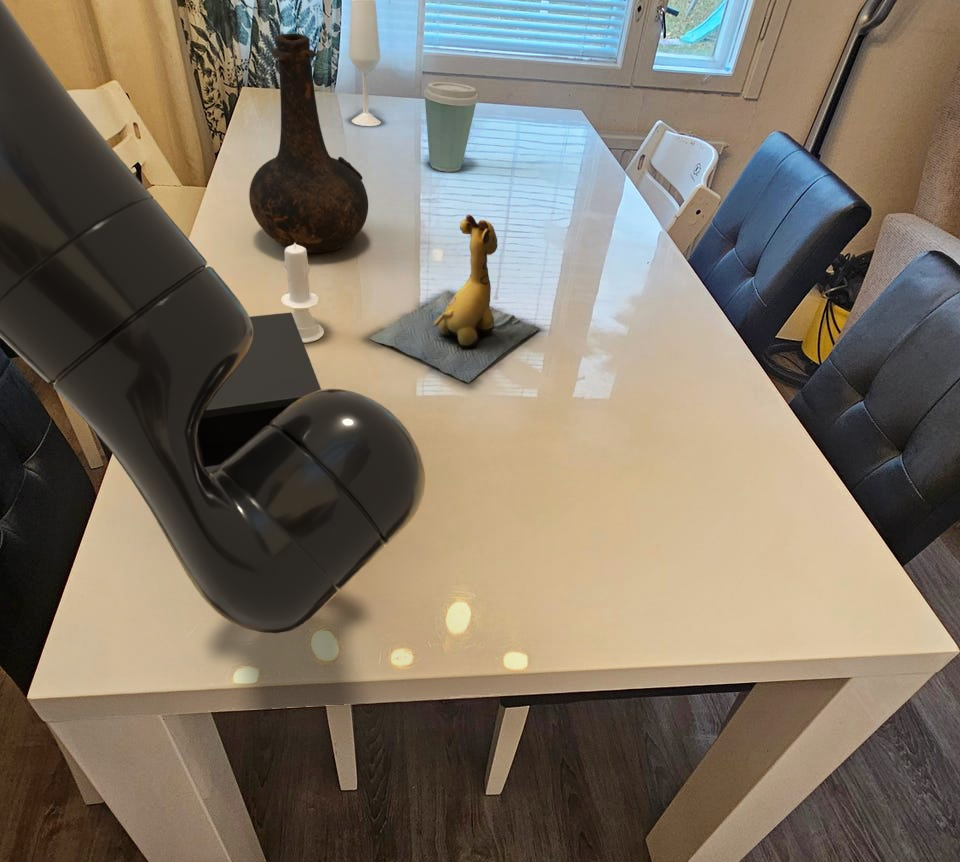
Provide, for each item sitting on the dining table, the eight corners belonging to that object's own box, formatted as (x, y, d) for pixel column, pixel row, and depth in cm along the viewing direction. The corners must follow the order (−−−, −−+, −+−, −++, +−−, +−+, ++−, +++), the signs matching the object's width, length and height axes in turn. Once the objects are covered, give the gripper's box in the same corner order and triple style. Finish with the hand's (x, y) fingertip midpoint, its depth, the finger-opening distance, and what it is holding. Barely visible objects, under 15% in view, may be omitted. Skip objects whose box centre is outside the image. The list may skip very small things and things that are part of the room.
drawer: (356, 569, 63) (352, 496, 57) (209, 602, 59) (188, 527, 53) (310, 435, 77) (303, 364, 70) (187, 454, 73) (168, 381, 67)
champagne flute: (349, 124, 160) (344, -6, 143) (354, 116, 164) (349, -11, 148) (378, 127, 160) (377, -3, 143) (382, 119, 165) (381, -8, 148)
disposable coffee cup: (418, 157, 147) (420, 75, 137) (469, 159, 149) (474, 78, 139) (424, 175, 140) (427, 89, 130) (477, 177, 142) (484, 93, 132)
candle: (283, 322, 95) (272, 234, 87) (323, 322, 96) (317, 235, 88) (282, 343, 91) (270, 253, 83) (324, 343, 92) (317, 253, 84)
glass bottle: (385, 257, 112) (384, 50, 93) (274, 272, 105) (247, 53, 86) (345, 214, 123) (336, 21, 103) (242, 226, 116) (212, 21, 96)
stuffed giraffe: (540, 329, 99) (553, 214, 88) (468, 387, 88) (471, 264, 77) (448, 295, 105) (449, 184, 94) (370, 345, 94) (360, 227, 83)
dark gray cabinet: (330, 480, 73) (323, 393, 66) (189, 505, 69) (164, 415, 61) (300, 395, 83) (291, 312, 76) (176, 412, 79) (154, 326, 72)
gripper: (373, 443, 47) (339, 468, 63) (160, 479, 43) (183, 496, 59) (395, 553, 47) (356, 550, 64) (186, 600, 43) (202, 583, 59)
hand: (273, 524), depth 61 cm, fingers closed
